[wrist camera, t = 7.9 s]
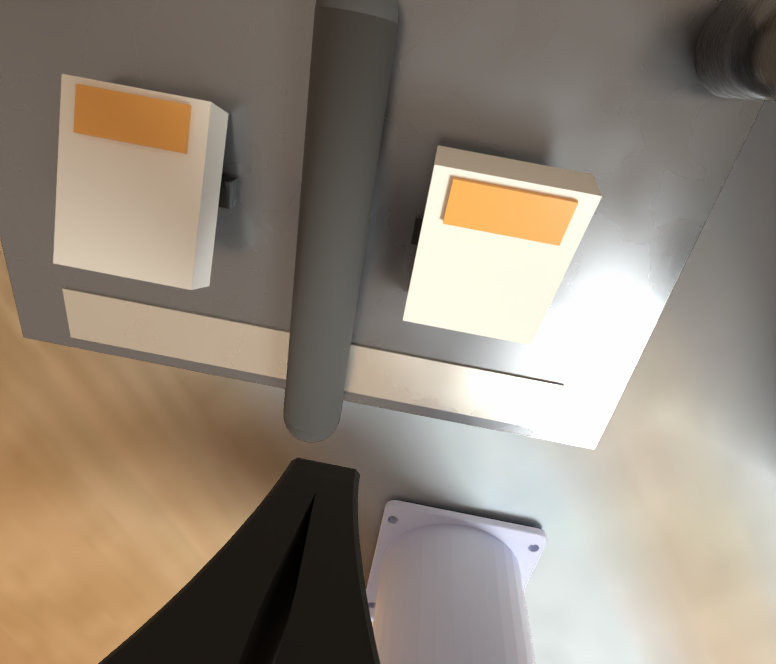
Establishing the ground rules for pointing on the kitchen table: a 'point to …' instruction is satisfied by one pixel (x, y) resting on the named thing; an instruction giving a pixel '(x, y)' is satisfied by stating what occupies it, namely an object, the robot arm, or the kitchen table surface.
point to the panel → (399, 183)
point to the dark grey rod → (335, 202)
